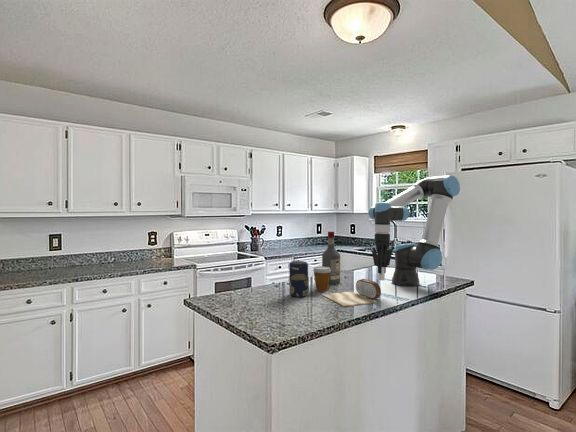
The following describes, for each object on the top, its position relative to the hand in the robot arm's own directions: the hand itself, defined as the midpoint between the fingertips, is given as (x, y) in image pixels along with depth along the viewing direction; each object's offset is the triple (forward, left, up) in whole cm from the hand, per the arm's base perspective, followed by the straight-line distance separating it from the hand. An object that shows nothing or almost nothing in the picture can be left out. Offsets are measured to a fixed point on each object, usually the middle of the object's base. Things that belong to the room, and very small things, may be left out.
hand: (381, 279), depth 176 cm
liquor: (+10, -36, -8) cm, 38 cm away
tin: (+8, 0, -8) cm, 12 cm away
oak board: (+19, 0, -8) cm, 21 cm away
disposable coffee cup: (+23, -22, -8) cm, 32 cm away
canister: (+39, -16, -8) cm, 43 cm away
